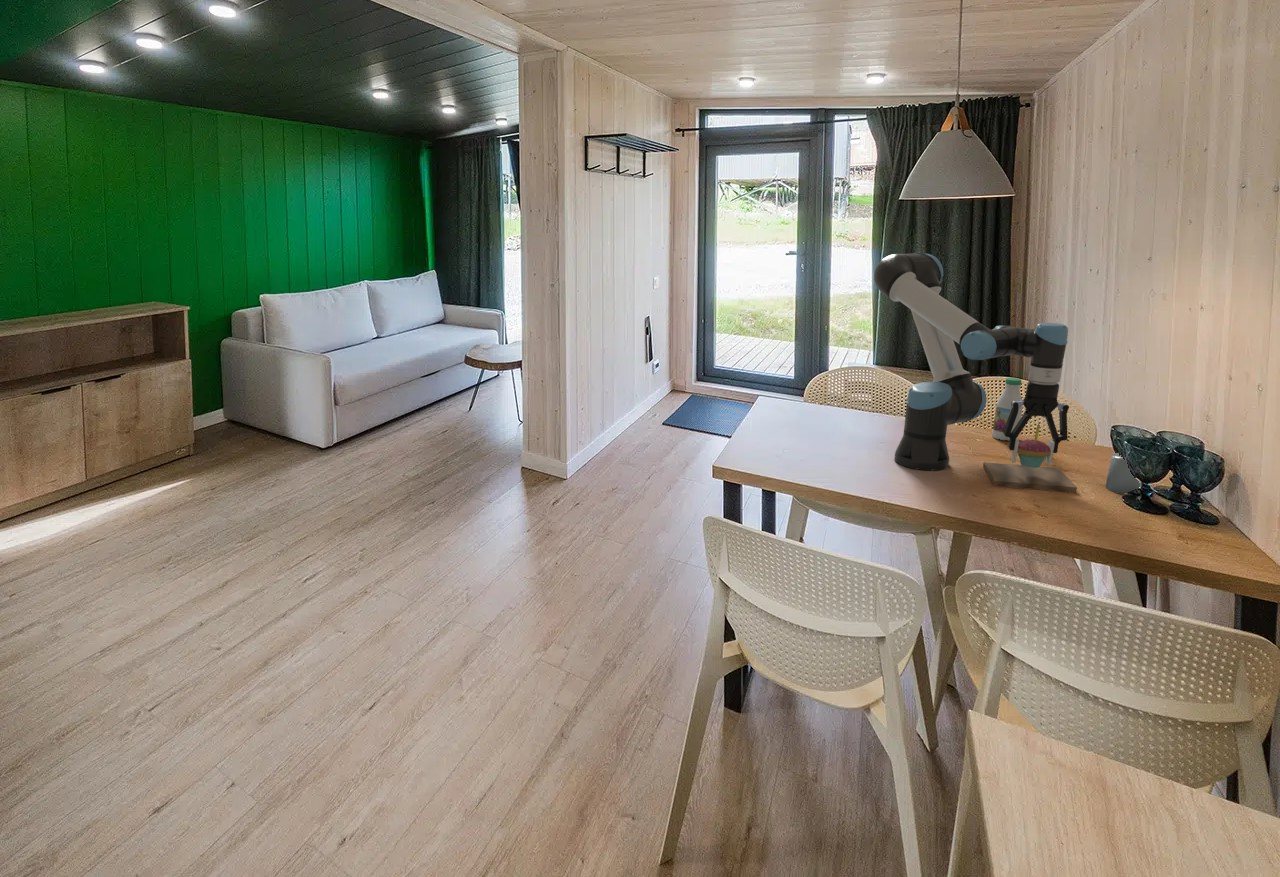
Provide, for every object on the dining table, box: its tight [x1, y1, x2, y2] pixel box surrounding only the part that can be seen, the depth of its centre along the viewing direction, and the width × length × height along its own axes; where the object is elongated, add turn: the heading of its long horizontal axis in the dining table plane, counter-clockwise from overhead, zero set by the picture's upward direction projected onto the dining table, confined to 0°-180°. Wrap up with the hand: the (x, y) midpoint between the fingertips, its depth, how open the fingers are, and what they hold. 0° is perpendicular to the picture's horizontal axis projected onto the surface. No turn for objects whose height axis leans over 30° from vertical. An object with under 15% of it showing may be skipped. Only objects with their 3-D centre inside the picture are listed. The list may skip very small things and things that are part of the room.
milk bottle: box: [991, 377, 1024, 442], centre depth 235 cm, size 8×8×20 cm
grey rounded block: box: [1105, 452, 1140, 495], centre depth 192 cm, size 8×8×9 cm
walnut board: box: [982, 461, 1078, 494], centre depth 200 cm, size 20×16×2 cm
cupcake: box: [1017, 421, 1051, 468], centre depth 197 cm, size 9×8×12 cm
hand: (1030, 462), depth 199 cm, fingers closed on cupcake, 8 cm apart
